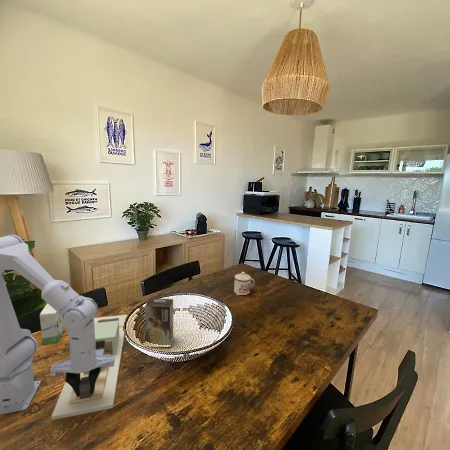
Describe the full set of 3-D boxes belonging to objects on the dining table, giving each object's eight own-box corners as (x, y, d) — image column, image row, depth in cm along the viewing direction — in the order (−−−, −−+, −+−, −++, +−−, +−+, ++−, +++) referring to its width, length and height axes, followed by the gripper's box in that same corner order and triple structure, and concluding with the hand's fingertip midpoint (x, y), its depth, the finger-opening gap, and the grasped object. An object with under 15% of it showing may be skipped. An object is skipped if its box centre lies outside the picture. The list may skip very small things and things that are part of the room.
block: (101, 371, 77) (101, 359, 76) (83, 374, 75) (82, 362, 75) (104, 360, 81) (104, 348, 81) (87, 362, 80) (86, 351, 79)
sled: (102, 397, 69) (101, 381, 68) (68, 403, 66) (67, 386, 65) (113, 343, 91) (113, 330, 90) (88, 346, 88) (87, 333, 88)
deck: (112, 407, 67) (112, 404, 67) (51, 420, 63) (51, 416, 63) (127, 316, 110) (127, 314, 110) (91, 320, 106) (91, 318, 106)
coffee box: (174, 337, 97) (174, 298, 95) (170, 348, 91) (170, 307, 88) (150, 336, 97) (149, 297, 95) (144, 347, 91) (144, 306, 88)
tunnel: (116, 357, 85) (115, 336, 84) (79, 363, 82) (77, 341, 81) (119, 339, 95) (118, 320, 93) (86, 343, 92) (85, 324, 90)
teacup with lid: (238, 297, 133) (240, 276, 131) (230, 290, 141) (231, 270, 139) (258, 293, 138) (259, 273, 136) (249, 287, 146) (250, 267, 144)
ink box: (58, 342, 92) (55, 312, 90) (41, 345, 90) (39, 314, 88) (64, 329, 100) (62, 301, 98) (49, 331, 98) (46, 303, 96)
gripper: (115, 334, 71) (117, 376, 74) (55, 341, 67) (59, 386, 70) (111, 350, 65) (113, 396, 67) (45, 359, 60) (50, 408, 63)
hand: (85, 392), depth 68 cm, fingers open, 3 cm apart
